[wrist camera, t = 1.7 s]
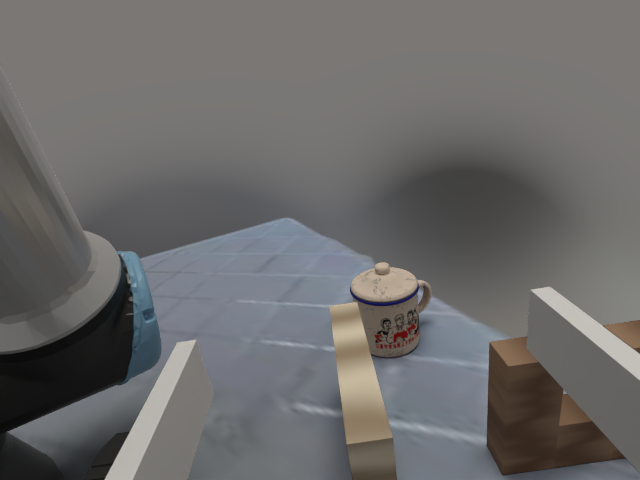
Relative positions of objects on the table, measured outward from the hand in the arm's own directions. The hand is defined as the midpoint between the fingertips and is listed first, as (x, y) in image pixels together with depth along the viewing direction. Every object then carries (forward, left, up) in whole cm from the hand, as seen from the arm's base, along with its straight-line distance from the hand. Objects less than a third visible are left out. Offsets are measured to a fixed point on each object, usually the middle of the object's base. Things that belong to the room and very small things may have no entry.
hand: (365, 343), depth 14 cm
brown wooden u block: (-1, +22, -24) cm, 32 cm away
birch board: (-12, +7, -24) cm, 27 cm away
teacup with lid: (-24, +22, -24) cm, 40 cm away
